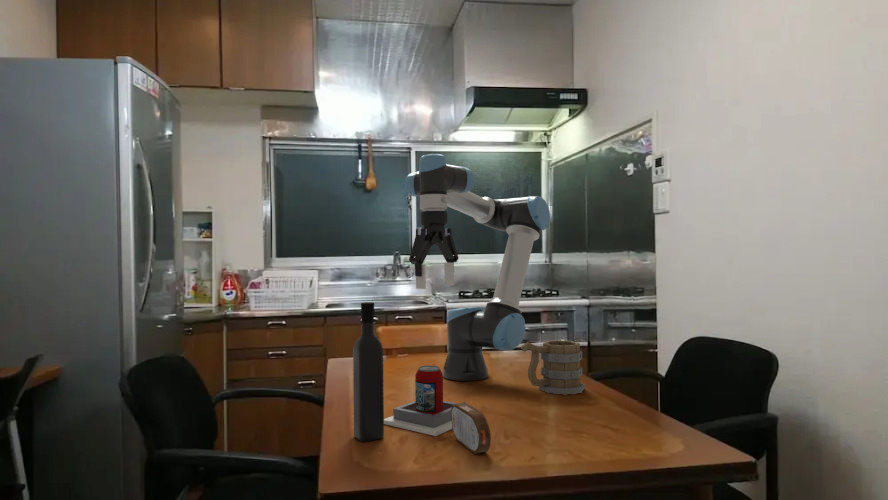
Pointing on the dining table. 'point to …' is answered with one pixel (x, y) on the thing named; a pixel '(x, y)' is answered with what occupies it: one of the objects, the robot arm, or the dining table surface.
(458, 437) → the tin
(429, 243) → the robot arm
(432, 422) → the tray
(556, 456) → the dining table surface
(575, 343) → the tankard
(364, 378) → the wine bottle
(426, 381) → the beverage can
